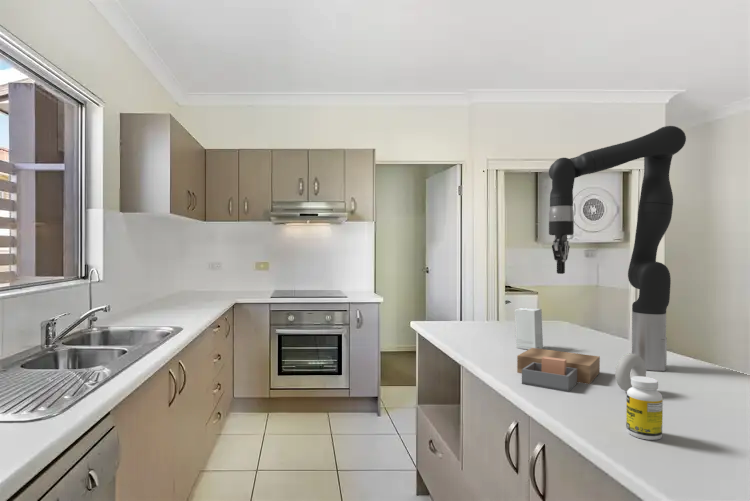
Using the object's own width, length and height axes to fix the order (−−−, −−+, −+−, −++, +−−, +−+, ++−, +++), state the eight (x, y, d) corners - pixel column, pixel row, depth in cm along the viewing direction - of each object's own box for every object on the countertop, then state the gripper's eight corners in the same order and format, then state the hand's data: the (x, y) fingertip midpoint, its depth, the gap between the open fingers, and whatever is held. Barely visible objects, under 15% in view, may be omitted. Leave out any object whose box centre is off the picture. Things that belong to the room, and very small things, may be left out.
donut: (624, 396, 116) (624, 356, 116) (612, 392, 119) (612, 353, 119) (649, 391, 120) (649, 352, 120) (636, 387, 123) (636, 350, 123)
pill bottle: (619, 429, 95) (619, 375, 95) (647, 428, 95) (648, 374, 95) (639, 441, 88) (640, 383, 88) (669, 440, 89) (670, 383, 89)
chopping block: (599, 373, 138) (599, 356, 138) (589, 384, 126) (589, 365, 126) (531, 363, 149) (532, 347, 149) (517, 372, 138) (517, 355, 138)
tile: (566, 359, 127) (564, 361, 125) (566, 381, 127) (564, 383, 125) (543, 356, 130) (541, 358, 128) (543, 377, 130) (541, 379, 128)
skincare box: (543, 349, 171) (543, 309, 171) (535, 351, 167) (535, 310, 167) (522, 345, 177) (522, 306, 177) (514, 348, 173) (514, 308, 173)
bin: (577, 383, 127) (577, 368, 127) (568, 392, 119) (568, 376, 119) (533, 375, 134) (533, 362, 134) (521, 383, 126) (521, 369, 126)
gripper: (568, 219, 143) (567, 274, 143) (578, 221, 154) (577, 273, 154) (543, 219, 148) (543, 274, 148) (554, 221, 158) (554, 272, 158)
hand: (560, 273), depth 151 cm, fingers closed
